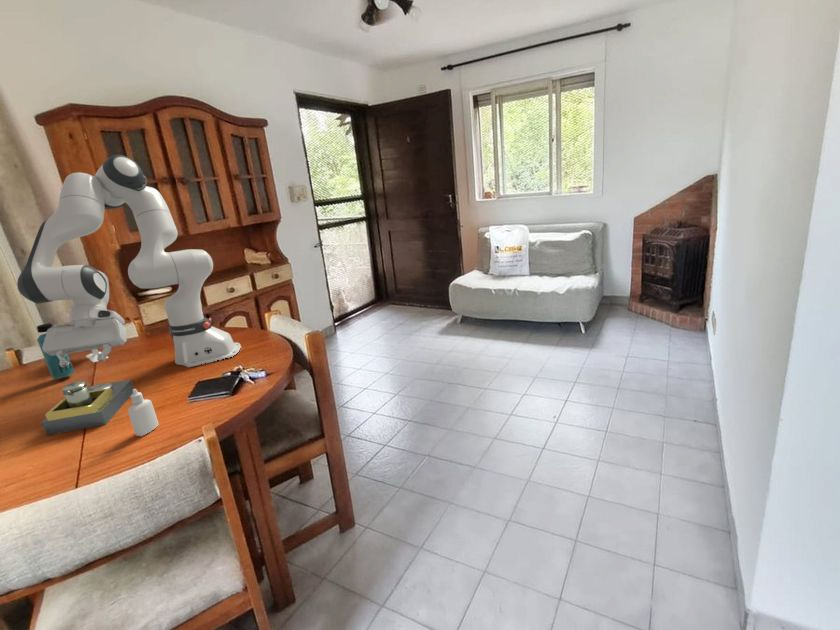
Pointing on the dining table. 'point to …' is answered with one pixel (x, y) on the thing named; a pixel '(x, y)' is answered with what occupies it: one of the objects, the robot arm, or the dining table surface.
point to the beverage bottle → (50, 360)
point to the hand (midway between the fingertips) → (82, 363)
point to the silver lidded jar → (77, 394)
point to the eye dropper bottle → (142, 414)
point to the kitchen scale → (89, 408)
